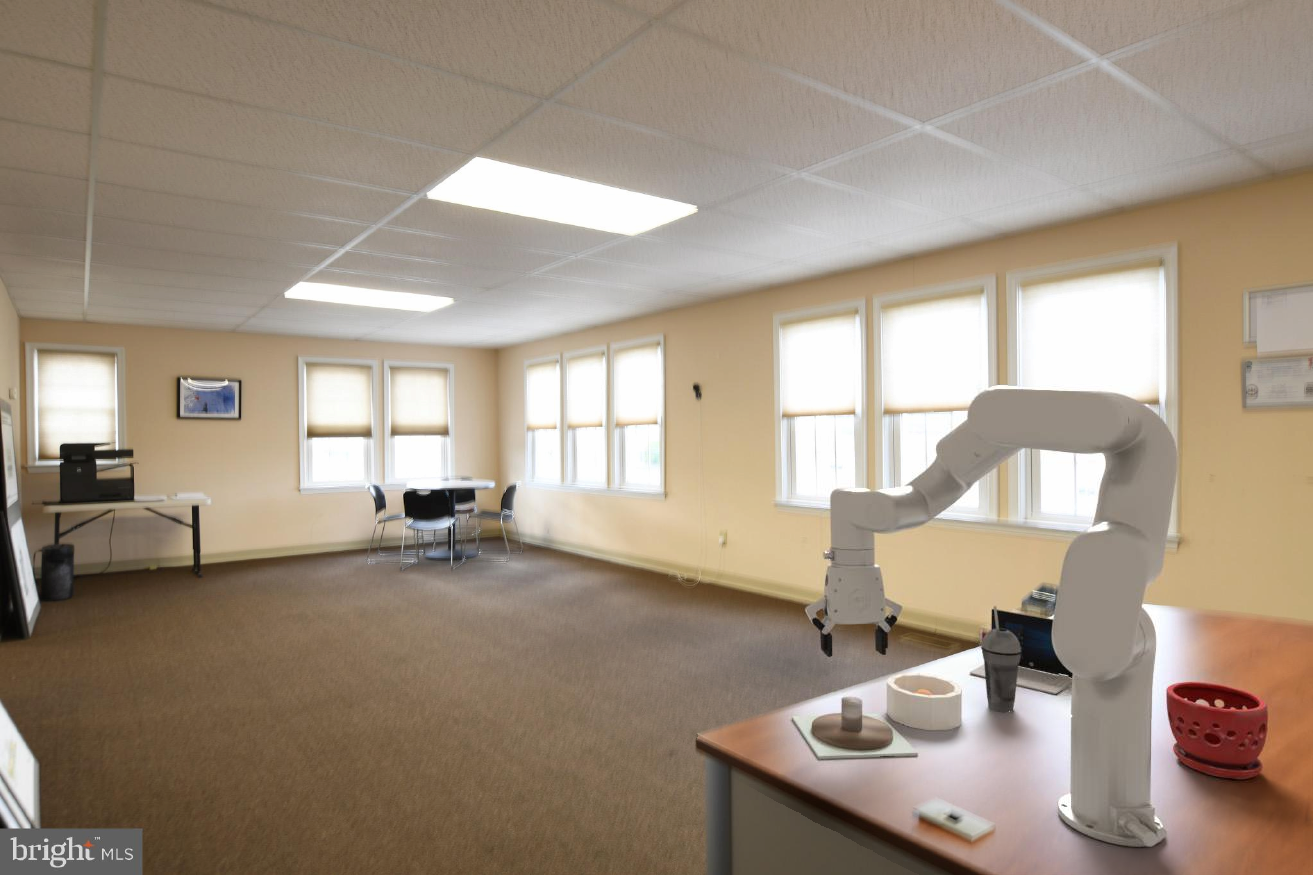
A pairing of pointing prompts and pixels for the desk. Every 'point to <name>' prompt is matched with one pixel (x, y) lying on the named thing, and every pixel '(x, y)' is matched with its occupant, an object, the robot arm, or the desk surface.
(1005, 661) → the beverage cup
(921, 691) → the ball
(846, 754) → the mat
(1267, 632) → the desk surface
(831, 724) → the lid
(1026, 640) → the laptop
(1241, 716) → the plant pot
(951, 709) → the bowl
